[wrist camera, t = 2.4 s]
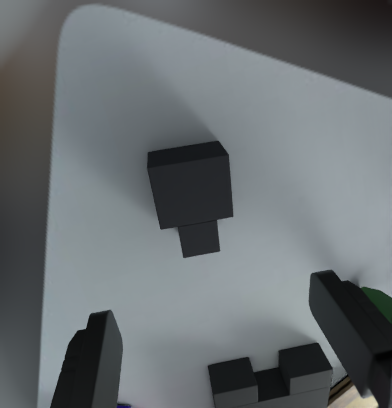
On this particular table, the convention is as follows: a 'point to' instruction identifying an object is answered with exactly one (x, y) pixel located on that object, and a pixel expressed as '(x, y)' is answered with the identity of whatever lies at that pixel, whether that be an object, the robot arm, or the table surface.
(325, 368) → the base pad
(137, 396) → the table surface
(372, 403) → the picture frame
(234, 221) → the table surface
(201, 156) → the small pad
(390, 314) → the flower
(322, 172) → the table surface
